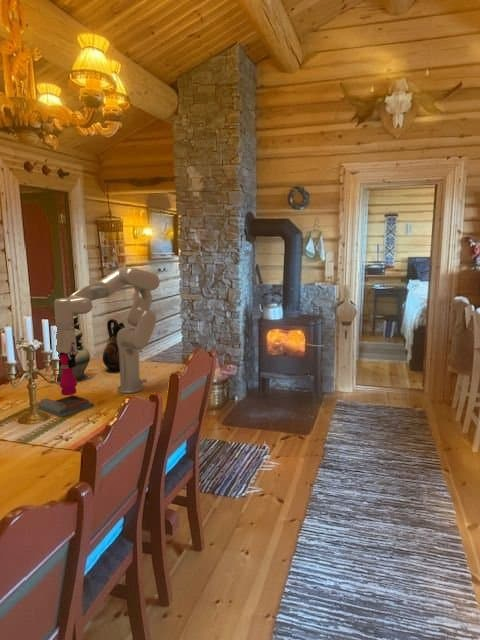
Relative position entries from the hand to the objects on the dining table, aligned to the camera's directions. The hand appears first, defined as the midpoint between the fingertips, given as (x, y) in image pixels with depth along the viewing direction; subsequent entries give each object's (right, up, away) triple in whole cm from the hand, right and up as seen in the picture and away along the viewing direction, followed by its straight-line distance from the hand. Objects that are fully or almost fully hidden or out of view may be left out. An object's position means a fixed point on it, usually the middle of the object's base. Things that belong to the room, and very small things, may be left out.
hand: (67, 366), depth 200 cm
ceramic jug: (+4, -9, +64) cm, 65 cm away
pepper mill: (0, -13, +2) cm, 13 cm away
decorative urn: (-16, -12, +46) cm, 50 cm away
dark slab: (-1, -19, +1) cm, 19 cm away
